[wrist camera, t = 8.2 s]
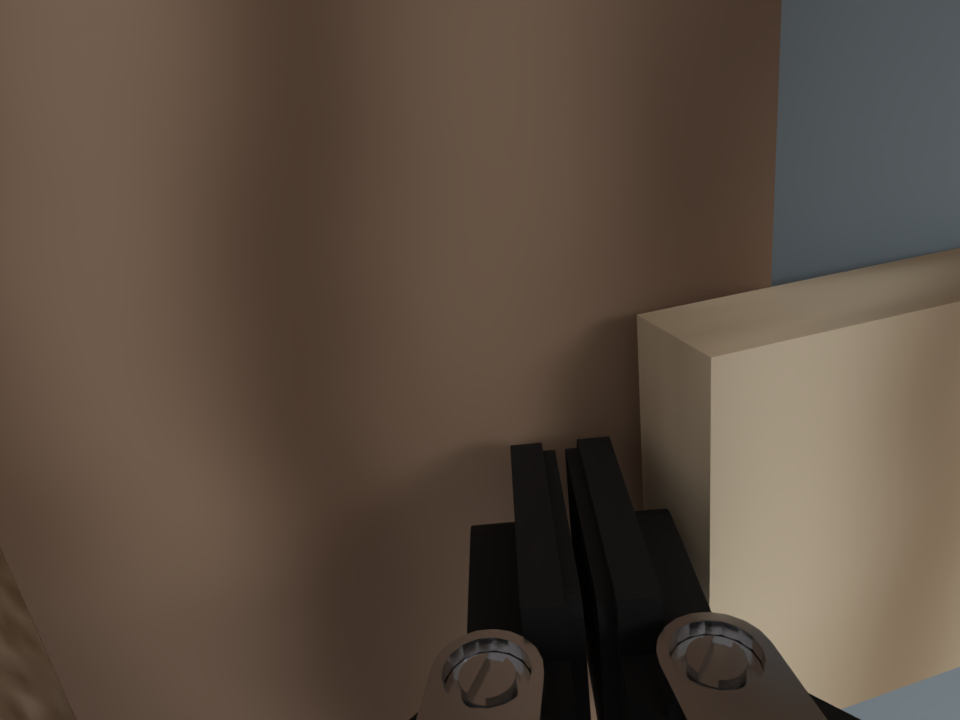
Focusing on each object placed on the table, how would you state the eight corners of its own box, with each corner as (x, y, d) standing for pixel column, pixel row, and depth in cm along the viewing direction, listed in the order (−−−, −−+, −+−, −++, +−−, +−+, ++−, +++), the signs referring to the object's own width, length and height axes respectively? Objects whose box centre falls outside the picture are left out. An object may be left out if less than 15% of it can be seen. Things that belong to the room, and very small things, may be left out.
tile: (1097, 219, 13) (1234, 239, 11) (1030, 545, 15) (1132, 604, 14) (636, 314, 11) (710, 357, 9) (648, 668, 13) (708, 756, 12)
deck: (727, -121, 11) (788, -171, 9) (716, 742, 18) (749, 839, 16) (-112, -8, 12) (-253, -27, 10) (188, 782, 19) (147, 880, 17)
